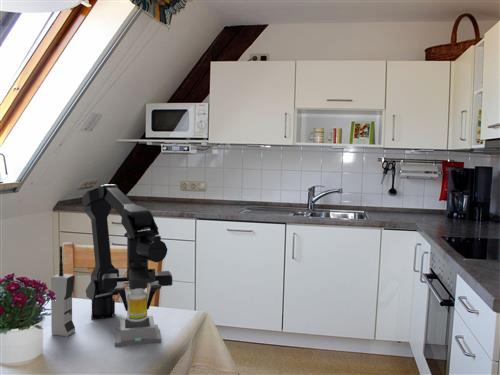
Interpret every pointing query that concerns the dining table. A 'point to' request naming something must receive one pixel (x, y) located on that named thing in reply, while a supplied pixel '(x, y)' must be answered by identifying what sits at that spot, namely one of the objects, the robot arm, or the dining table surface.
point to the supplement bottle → (137, 305)
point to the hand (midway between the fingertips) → (137, 309)
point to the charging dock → (137, 332)
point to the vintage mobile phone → (62, 302)
